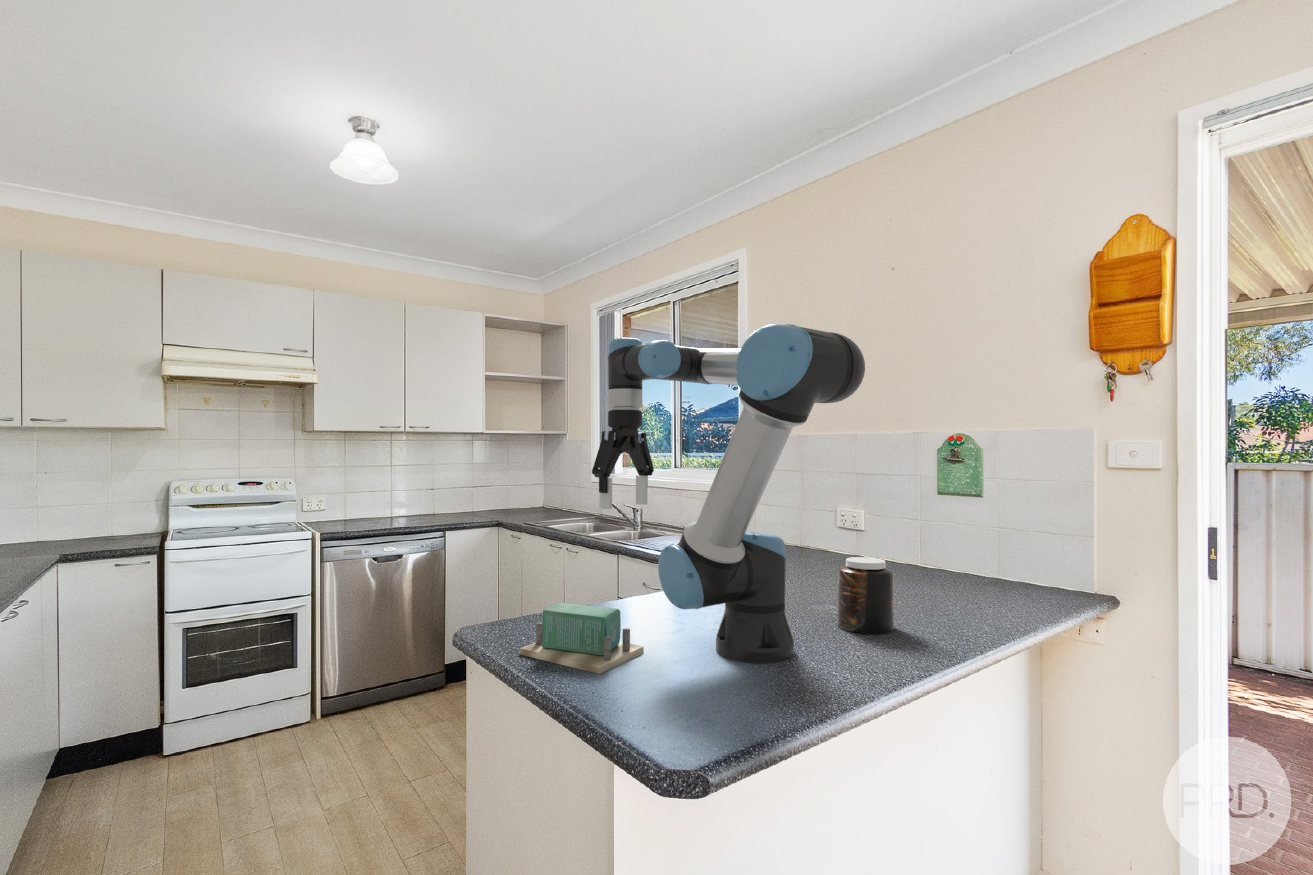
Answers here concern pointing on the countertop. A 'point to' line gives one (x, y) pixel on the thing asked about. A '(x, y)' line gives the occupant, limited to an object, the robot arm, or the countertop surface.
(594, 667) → the tray
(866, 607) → the jar
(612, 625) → the box
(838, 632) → the countertop surface
